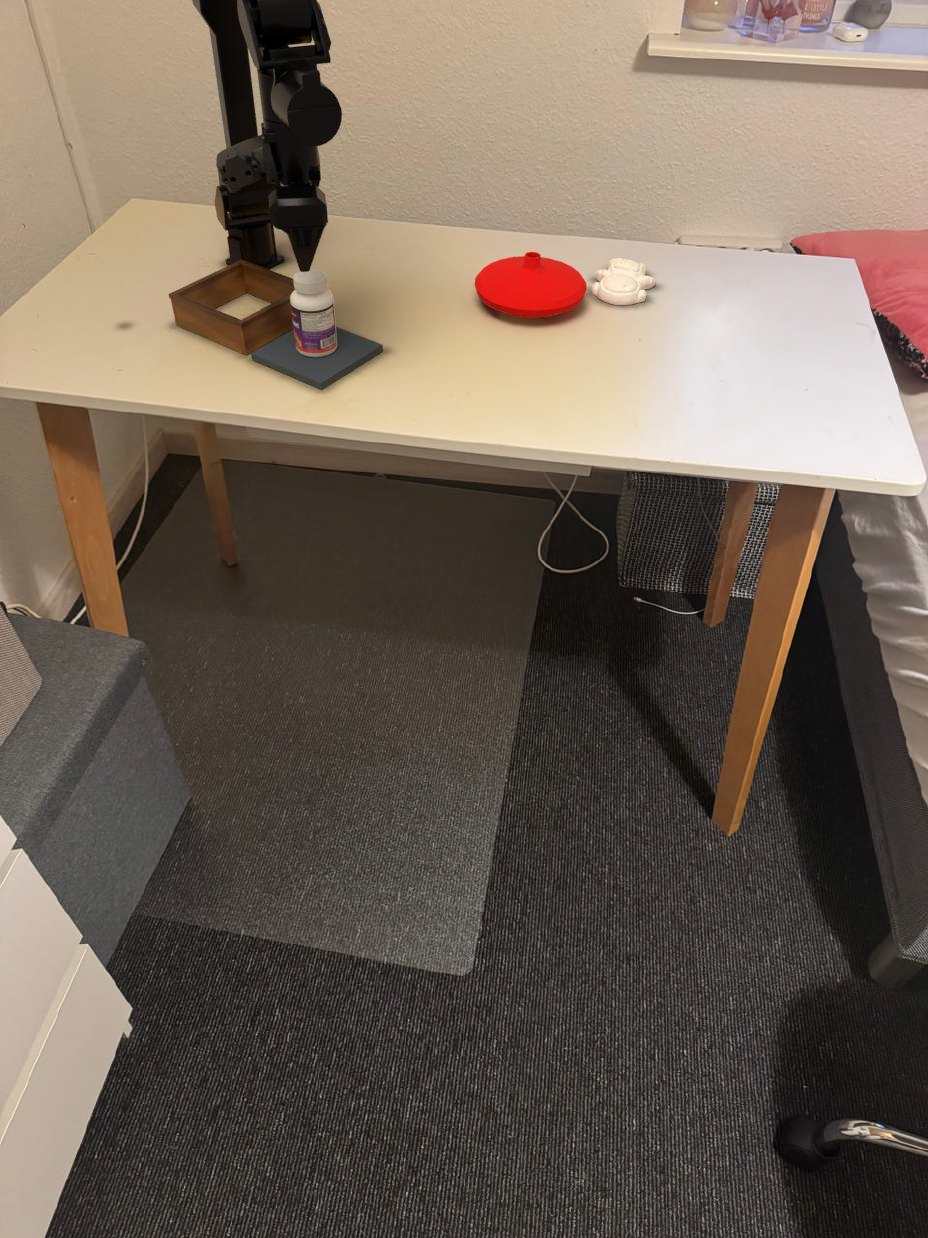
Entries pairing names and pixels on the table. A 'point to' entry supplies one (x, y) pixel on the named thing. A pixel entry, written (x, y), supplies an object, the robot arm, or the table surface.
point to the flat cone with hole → (530, 286)
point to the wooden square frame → (225, 285)
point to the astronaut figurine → (622, 282)
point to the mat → (317, 358)
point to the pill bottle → (313, 314)
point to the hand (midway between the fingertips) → (303, 254)
